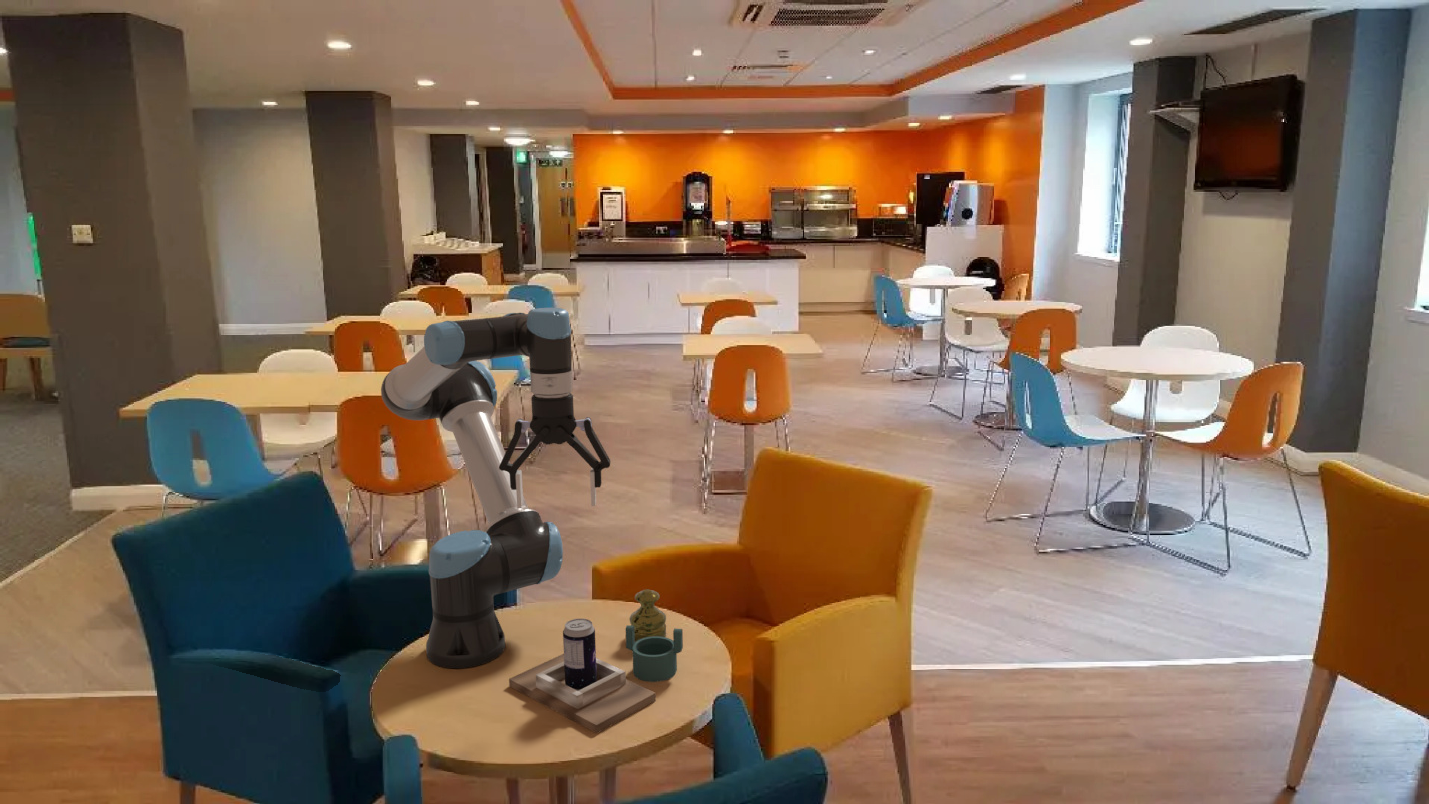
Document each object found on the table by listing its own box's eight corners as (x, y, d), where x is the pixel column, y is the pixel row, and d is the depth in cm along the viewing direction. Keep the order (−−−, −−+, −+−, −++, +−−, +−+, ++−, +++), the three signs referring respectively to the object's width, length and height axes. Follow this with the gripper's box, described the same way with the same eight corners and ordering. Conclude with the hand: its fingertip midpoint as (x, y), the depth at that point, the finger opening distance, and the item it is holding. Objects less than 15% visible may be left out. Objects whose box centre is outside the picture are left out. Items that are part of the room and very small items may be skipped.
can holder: (509, 686, 178) (508, 666, 177) (568, 658, 189) (567, 639, 188) (596, 733, 163) (596, 711, 162) (655, 700, 173) (655, 680, 172)
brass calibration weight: (673, 635, 198) (673, 589, 196) (648, 648, 193) (647, 601, 190) (648, 625, 203) (647, 580, 201) (622, 637, 197) (621, 591, 195)
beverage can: (599, 690, 173) (597, 629, 171) (567, 695, 172) (565, 633, 169) (594, 676, 179) (591, 615, 176) (563, 680, 177) (560, 619, 175)
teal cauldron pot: (686, 674, 182) (686, 630, 181) (642, 686, 178) (641, 641, 176) (664, 655, 190) (663, 612, 188) (621, 667, 185) (620, 623, 184)
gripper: (479, 399, 172) (486, 513, 176) (620, 396, 173) (623, 509, 178) (486, 390, 179) (492, 500, 184) (621, 388, 181) (624, 496, 185)
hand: (557, 504), depth 181 cm, fingers open, 13 cm apart
